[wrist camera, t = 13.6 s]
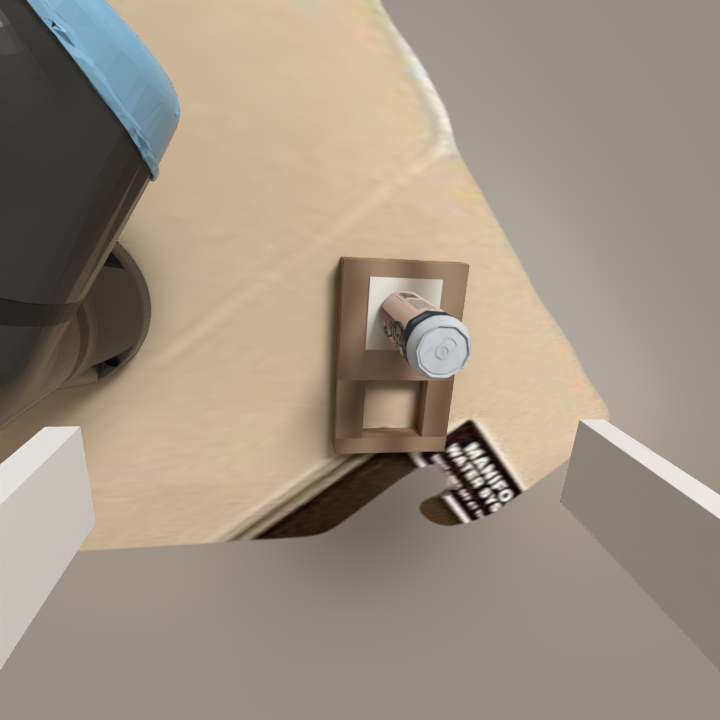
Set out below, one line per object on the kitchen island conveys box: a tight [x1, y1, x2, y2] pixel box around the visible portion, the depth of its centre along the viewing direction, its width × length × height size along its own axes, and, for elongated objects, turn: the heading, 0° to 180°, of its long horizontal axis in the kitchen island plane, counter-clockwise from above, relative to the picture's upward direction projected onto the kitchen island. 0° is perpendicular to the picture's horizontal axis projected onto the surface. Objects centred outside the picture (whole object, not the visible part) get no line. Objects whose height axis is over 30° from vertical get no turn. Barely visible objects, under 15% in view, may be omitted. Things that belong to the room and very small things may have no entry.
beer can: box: [378, 291, 471, 379], centre depth 35 cm, size 5×5×12 cm
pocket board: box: [333, 257, 469, 454], centre depth 44 cm, size 12×20×2 cm, turn 177°
